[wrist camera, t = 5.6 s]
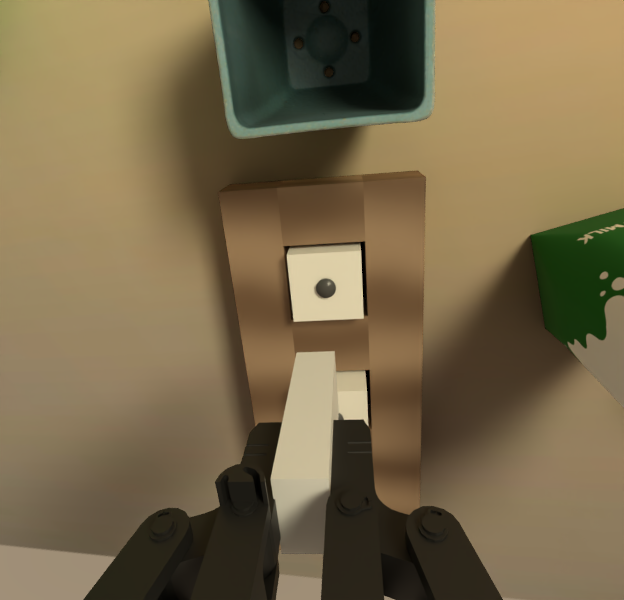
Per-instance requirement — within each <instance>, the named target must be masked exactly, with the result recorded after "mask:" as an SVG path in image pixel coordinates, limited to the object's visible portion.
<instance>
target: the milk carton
mask: <svg viewBox="0 0 624 600" xmlns="http://www.w3.org/2000/svg"><path fill="white" fill-rule="evenodd" d="M531 242H532V248H533V254H534V261H535V267H536V273H537V280H538V286H539V292H540V298H541V305H542V311H543V317H544V324H545V329H547V330H548V331H549V332H550V333H551V334H552V335H554V336H555V337H556V338H557V339H558V340H559V341H560V342H562V343H563V344H564V345H565V346H566V347H567V348H568V349H569V350H570V351H571V353H572V354H573V355H574V356H575V357H576V358H577V359H578V360H579V361H580V362H581V363H582V364H583V365H584V366H585V367H586V368H587V369H588V371H589V372H590V373H591V374H592V375H593V376H594V377H595V378H596V379H597V380H598V381H599V382H600V383H601V384H602V385H603V386H604V387H605V389H606V390H607V391H608V392H609V393H610V394H611V395H612V396H613V397H614V398H615V399H616V400H617V401H618V402H619V403H620V404H621V405H622V407H623V408H624V208H623V209H620V210H616V211H613V212H609V213H606V214H602V215H599V216H595V217H592V218H588V219H585V220H581V221H578V222H574V223H571V224H568V225H564V226H561V227H557V228H554V229H550V230H547V231H543V232H540V233H536V234H533V235H531Z"/></svg>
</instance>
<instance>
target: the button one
mask: <svg viewBox="0 0 624 600" xmlns="http://www.w3.org/2000/svg"><path fill="white" fill-rule="evenodd" d="M287 263H288V273H289V282H290V291H291V301H292V310H293V319H294V322H299V321H322V320H345V319H364V314H363V288H362V263H361V246H360V242H344V243H328V244H311V245H295V246H290V248H289V250H288V253H287Z"/></svg>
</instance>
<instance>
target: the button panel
mask: <svg viewBox="0 0 624 600" xmlns="http://www.w3.org/2000/svg"><path fill="white" fill-rule="evenodd" d="M425 192H426V177H425V176H424V175H422V174H421V173H420V172H419V171H406V172H393V173H379V174H366V175H352V176H339V177H325V178H312V179H298V180H285V181H271V182H258V183H244V184H231V185H229V186H227V187H225V188H224V189H222V190H221V191H219V192H218V195H219V202H220V208H221V214H222V220H223V226H224V233H225V239H226V245H227V251H228V258H229V264H230V270H231V276H232V283H233V289H234V295H235V301H236V308H237V314H238V320H239V326H240V332H241V339H242V345H243V351H244V357H245V364H246V370H247V376H248V382H249V389H250V395H251V401H252V407H253V413H254V420H255V426H256V425H257V424H258V423H264V422H282V421H283V416H284V411H285V406H286V401H287V397H288V392H289V387H290V382H291V377H292V372H293V368H294V363H295V358H296V353H297V352H325V351H335V364H336V371H349V370H369V398H370V404H368V427H369V428H370V431H371V444H372V457H373V470H374V483H375V491H376V494H377V496H378V498H379V499H380V501H381V502H382V503H383V504H384V505H386V506H387V507H389V508H390V509H392V510H395V511H398V512H401V513H404V514H408V515H410V514H411V513H412V512H413V511H414V510H415V509H418V508H420V466H421V411H422V357H423V302H424V247H425ZM361 241H364V260H365V288H366V299H363V314H364V319H345V320H322V321H299V322H294V319H293V310H292V301H291V291H290V282H289V273H288V263H287V253H288V250H289V248H290V246H295V245H311V244H328V243H344V242H361ZM279 550H281V546H279Z"/></svg>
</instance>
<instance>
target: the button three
mask: <svg viewBox="0 0 624 600" xmlns="http://www.w3.org/2000/svg"><path fill="white" fill-rule="evenodd" d="M336 378H337V393H338V407H339V413H338V420H360V419H363V420H364V421H365V423H366V424H367V425H368V404H367V385H366V373H365V370H349V371H336Z"/></svg>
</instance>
